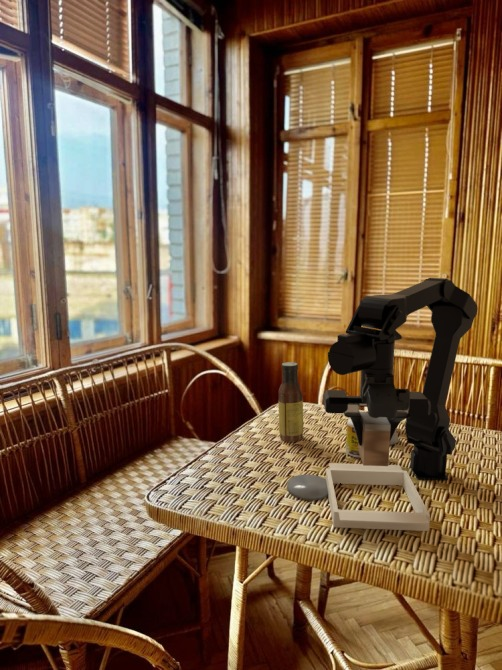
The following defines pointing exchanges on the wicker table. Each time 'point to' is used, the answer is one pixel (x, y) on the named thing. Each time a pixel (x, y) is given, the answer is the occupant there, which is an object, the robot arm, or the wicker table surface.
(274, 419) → the wicker table surface
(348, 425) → the supplement bottle
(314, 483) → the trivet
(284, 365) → the sauce bottle
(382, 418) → the gray box
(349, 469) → the beige square frame
